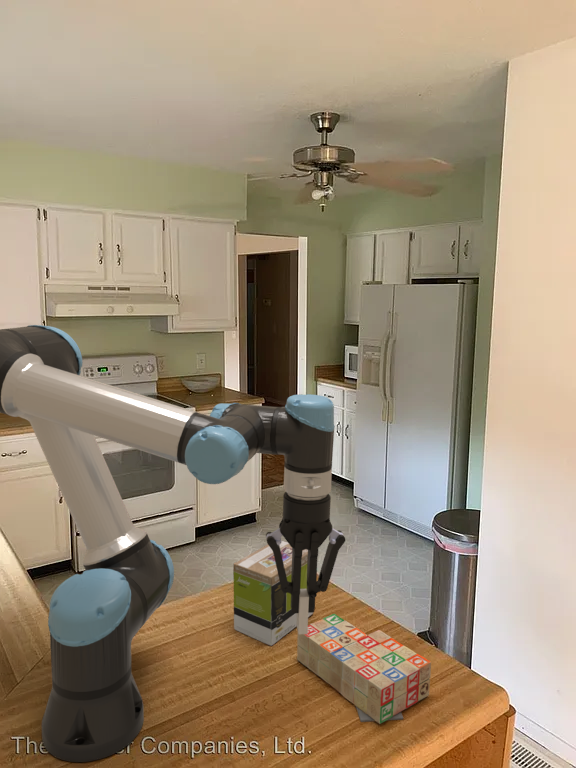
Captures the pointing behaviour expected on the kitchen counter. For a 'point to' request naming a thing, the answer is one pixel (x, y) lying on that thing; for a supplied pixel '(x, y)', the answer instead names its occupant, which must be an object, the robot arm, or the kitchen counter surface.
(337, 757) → the kitchen counter surface
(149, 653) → the kitchen counter surface
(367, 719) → the rubber pad
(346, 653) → the stack of blocks
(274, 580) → the tea box
